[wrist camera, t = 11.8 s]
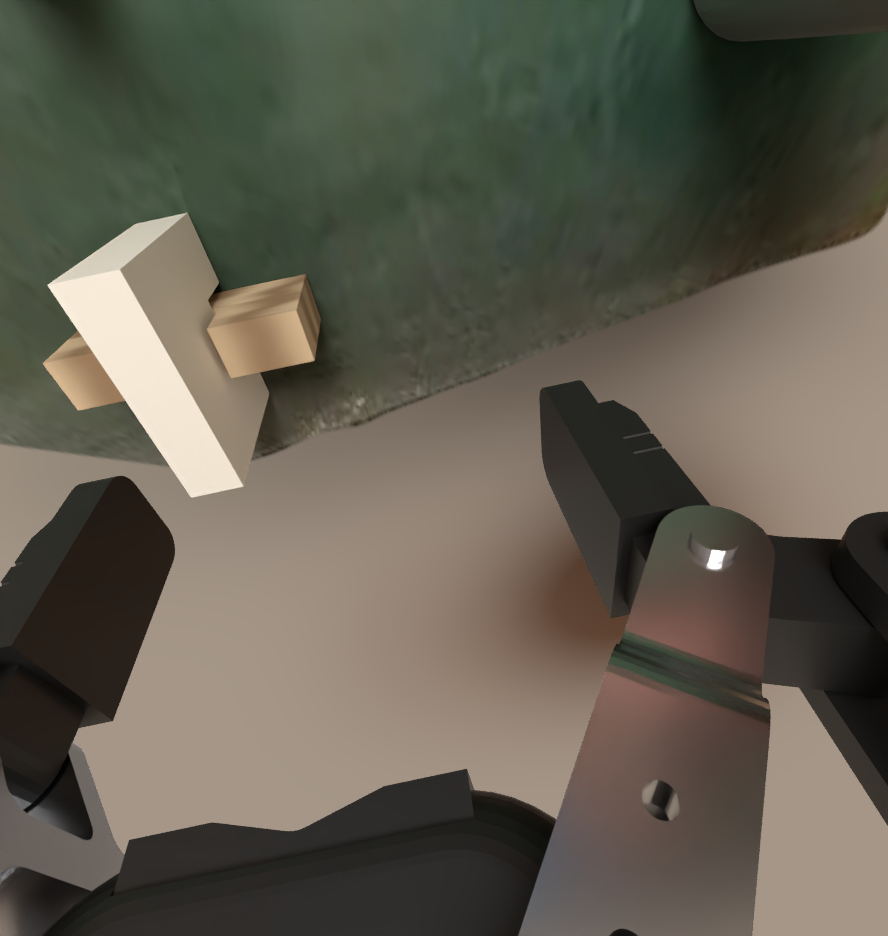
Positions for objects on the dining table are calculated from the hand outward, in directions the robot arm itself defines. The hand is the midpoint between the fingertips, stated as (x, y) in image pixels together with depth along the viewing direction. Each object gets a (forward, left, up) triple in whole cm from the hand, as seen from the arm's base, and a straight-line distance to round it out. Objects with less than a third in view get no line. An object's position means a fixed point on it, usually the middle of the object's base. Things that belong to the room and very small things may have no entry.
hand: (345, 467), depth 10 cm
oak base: (+13, +7, -30) cm, 33 cm away
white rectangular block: (+13, +7, -30) cm, 33 cm away
